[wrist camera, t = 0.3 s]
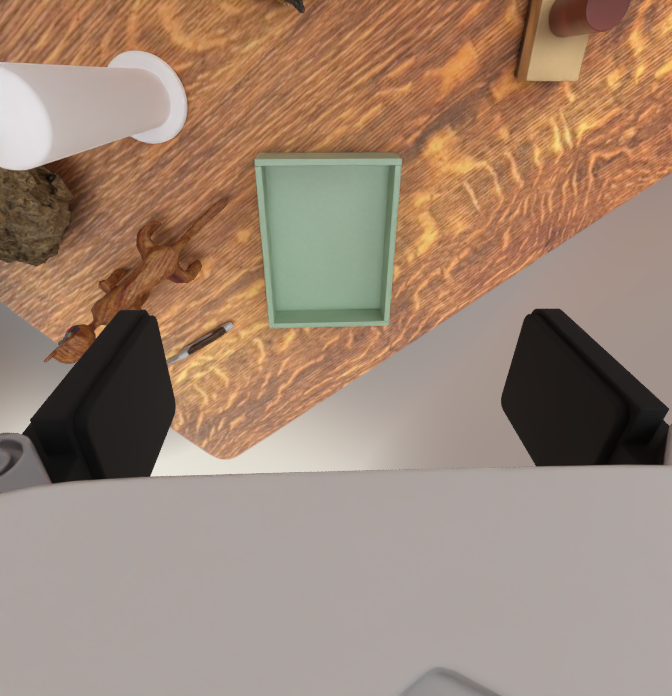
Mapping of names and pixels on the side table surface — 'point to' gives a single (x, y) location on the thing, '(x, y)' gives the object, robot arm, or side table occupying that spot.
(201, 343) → the pocket knife
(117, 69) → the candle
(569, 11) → the stamp
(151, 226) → the wooden animal figurine
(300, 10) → the shark head
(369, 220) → the tray
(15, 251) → the fossil
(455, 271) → the side table surface
